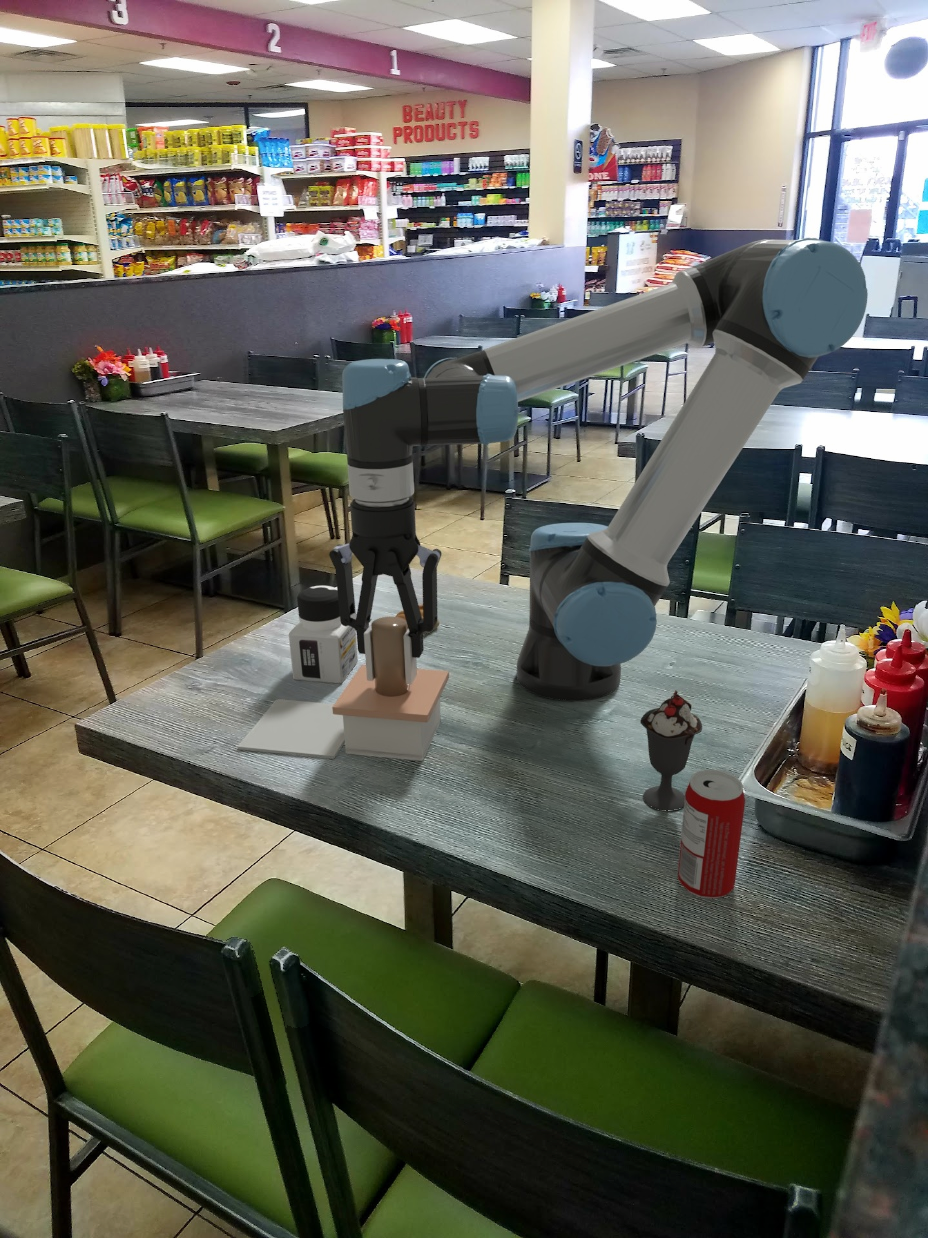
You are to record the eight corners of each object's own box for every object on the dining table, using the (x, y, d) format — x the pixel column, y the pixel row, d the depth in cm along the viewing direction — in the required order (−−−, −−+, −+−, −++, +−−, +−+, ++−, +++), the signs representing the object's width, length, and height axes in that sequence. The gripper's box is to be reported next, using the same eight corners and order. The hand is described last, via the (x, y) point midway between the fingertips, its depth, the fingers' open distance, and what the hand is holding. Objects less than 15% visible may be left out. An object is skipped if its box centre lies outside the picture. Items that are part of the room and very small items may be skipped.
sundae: (657, 822, 100) (667, 702, 94) (624, 791, 105) (631, 676, 99) (706, 807, 102) (719, 690, 96) (671, 778, 108) (681, 665, 102)
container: (342, 684, 132) (335, 602, 127) (292, 680, 133) (284, 598, 128) (358, 661, 139) (353, 582, 133) (310, 658, 140) (303, 579, 135)
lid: (449, 678, 119) (447, 608, 115) (427, 722, 109) (424, 647, 105) (362, 671, 122) (357, 602, 118) (332, 714, 111) (326, 640, 107)
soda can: (742, 879, 91) (756, 777, 86) (720, 909, 87) (733, 804, 82) (691, 858, 94) (701, 759, 89) (667, 886, 90) (677, 784, 85)
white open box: (440, 721, 121) (439, 681, 119) (422, 761, 112) (420, 718, 110) (369, 715, 123) (366, 675, 121) (345, 753, 114) (342, 711, 112)
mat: (365, 709, 125) (365, 706, 124) (334, 759, 113) (334, 756, 113) (277, 701, 127) (276, 699, 127) (237, 749, 115) (237, 746, 115)
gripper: (299, 504, 103) (316, 685, 112) (448, 510, 100) (453, 696, 109) (322, 487, 110) (336, 659, 119) (462, 492, 107) (465, 669, 116)
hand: (392, 677), depth 114 cm, fingers closed on lid, 4 cm apart
